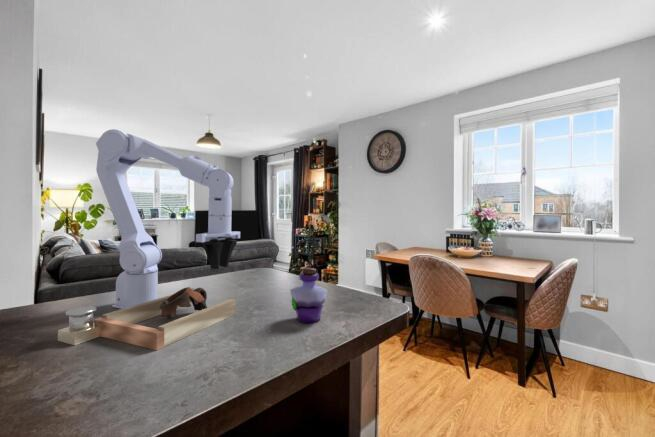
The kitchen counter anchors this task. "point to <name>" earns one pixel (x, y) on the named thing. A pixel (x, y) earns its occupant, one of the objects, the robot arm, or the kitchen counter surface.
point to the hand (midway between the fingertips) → (219, 267)
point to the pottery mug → (184, 301)
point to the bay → (125, 329)
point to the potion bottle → (308, 297)
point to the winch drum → (79, 326)
